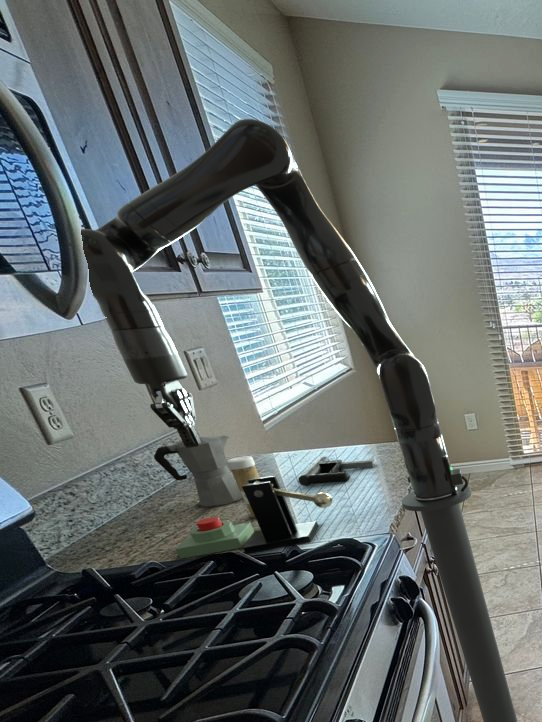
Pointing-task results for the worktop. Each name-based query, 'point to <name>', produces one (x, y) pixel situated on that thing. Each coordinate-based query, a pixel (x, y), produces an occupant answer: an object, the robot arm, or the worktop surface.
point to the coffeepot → (204, 469)
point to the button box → (215, 539)
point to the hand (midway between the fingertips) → (193, 446)
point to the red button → (209, 524)
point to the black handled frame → (330, 471)
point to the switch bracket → (273, 518)
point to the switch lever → (306, 497)
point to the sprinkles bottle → (243, 474)
